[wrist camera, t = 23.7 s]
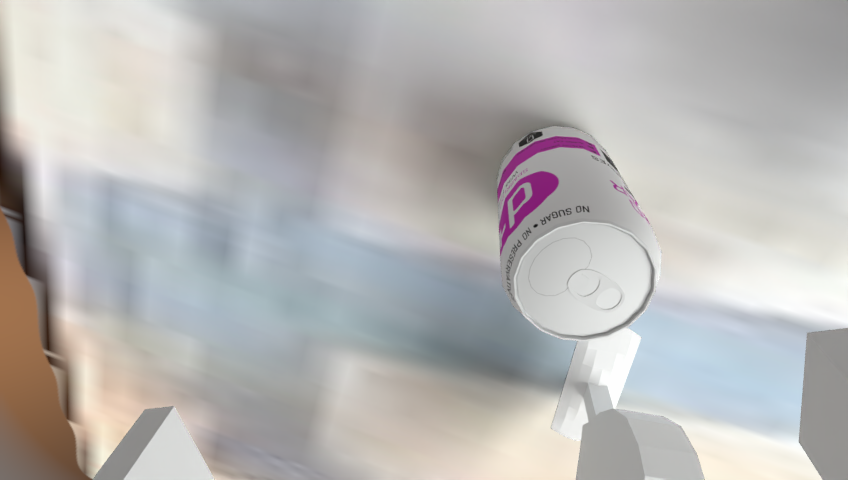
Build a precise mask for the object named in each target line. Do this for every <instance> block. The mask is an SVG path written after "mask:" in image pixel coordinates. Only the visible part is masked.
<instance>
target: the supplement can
mask: <svg viewBox="0 0 848 480" xmlns="http://www.w3.org/2000/svg"><path fill="white" fill-rule="evenodd" d="M497 193H498V216H499V239H500V262H501V274H502V286H503V288H504V290H505V292H506V294H507V296H508V297H509V299H510V301H511V303H512V305H513V307H515V308H516V309H517V310H518V311H519V312H520V313H521V314H523V315H524V317H525V318H526V319H527V320H529V321H530V322H531V323H532V324H533V325H534V326H535V327H537V328H538V329H539V330H540V331H542V332H545V333H547V334H550V335H552V336H554V337H557V338H559V339H564V340H575V341H590V340H595V339H600V338H606V337H609V336H611V335H613V334H615V333H617V332H619V331H621V330H623V329H625V328H627V327H629V326H630V325H631V324H633V323H634V322H635V321H636V320H637V319H638V318H639V317H640V316H641V315H642V314H643V313H644V312H645V311H646V310H647V308H648V306H649V304H650V302H651V300H652V298H653V295H654V293H655V291H656V284H657V282H658V280H659V278H660V273H661V257H662V251H661V249H660V246H659V243H658V241H657V238H656V236H655V233H654V230H653V228H652V227H651V225H650V223H649V222H648V220H647V218H646V217H645V215H644V213H643V212H642V210H641V208H640V207H639V205H638V203H637V202H636V200H635V198H634V197H633V195H632V193H631V192H630V190H629V188H628V187H627V185H626V183H625V182H624V180H623V178H622V177H621V175H620V173H619V172H618V170H617V168H616V167H615V165H614V163H613V162H612V160H611V158H610V157H609V155H608V153H607V152H606V150H605V149H604V148H603V147H602V146H601V145H600V144H599V143H598V142H597V141H596V140H595V139H594V138H593V137H592V136H591V135H589V134H586V133H584V132H582V131H580V130H578V129H575V128H573V127H558V126H551V127H547V128H543V129H540V130H536V131H532V132H530V133H529V134H527V135H526V136H524V137H523V138H521V139H520V140H519V141H517V142H516V143H514V144H513V146H512V147H511V148H510V150H509V151H508V152H507V154H506V155H505V156H504V158H503V159H502V162H501V165H500V169H499V172H498V175H497Z"/></svg>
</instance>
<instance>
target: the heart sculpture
mask: <svg viewBox="0 0 848 480" xmlns="http://www.w3.org/2000/svg"><path fill="white" fill-rule="evenodd" d="M641 338H642V337H640V336H639V335H637V334H636V333H635V332H633V331H632V330H630V329H628V328H625V329H623V330H621V331H619V332H617V333H615V334H613V335H611V336H609V337H606V338H600V339H595V340H590V341H577V345H576V348H575V351H574V354H573V358H572V361H571V364H570V367H569V371H568V374H567V377H566V380H565V384H564V387H563V390H562V393H561V397H560V400H559V403H558V406H557V410H556V413H555V416H554V419H553V423H552V426H551V429H553V430H554V431H556V432H557V433H559V434H561V435H563V436H565V437H567V438H569V439H572V440H575V441H577V440H581V445H580V452H579V460H578V467H577V474H576V480H705V479H704V475H703V472H702V469H701V466H700V462H699V459H698V456H697V453H696V451H695V450H694V448H693V446H692V444H691V443H690V441H689V439H688V437H687V436H686V434H685V432H684V431H683V429H682V427H681V426H680V425H678V424H676V423H674V422H672V421H671V420H669V419H667V418H665V417H664V416H658V415H651V414H645V413H639V412H633V411H627V410H620V409H615V408H616V405H617V402H618V400H619V397H620V394H621V392H622V389H623V386H624V384H625V381H626V378H627V376H628V373H629V370H630V367H631V365H632V362H633V359H634V357H635V354H636V351H637V349H638V346H639V343H640V341H641Z"/></svg>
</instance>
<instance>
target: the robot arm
mask: <svg viewBox="0 0 848 480" xmlns="http://www.w3.org/2000/svg"><path fill="white" fill-rule="evenodd" d="M799 443H800V445H801V446H802V448H803V449H804V451H805V452H806V454H807V456H808V457H809V459H810V460H811V462H812V463H813V465H814V467H815V468H816V470H817V471H818V473H819V474H820V476H821V478H822V479H823V480H848V328H844V329H835V330H827V331H818V332H809V333H807V340H806V353H805V367H804V380H803V393H802V406H801V419H800V432H799ZM92 480H215V479H214V477H213V476H212V474H211V472H210V470H209V468H208V467H207V465H206V463H205V461H204V459H203V457H202V456H201V454H200V452H199V450H198V448H197V447H196V445H195V443H194V441H193V439H192V438H191V436H190V434H189V432H188V430H187V428H186V427H185V425H184V423H183V421H182V419H181V418H180V416H179V414H178V412H177V410H176V408H175V407H174V406H171V407H163V408H154V409H146V410H144V411H143V413H142V414H141V415H140V417H139V418H138V419H137V421H136V422H135V423H134V425H133V426H132V427H131V429H130V430H129V431H128V433H127V434H126V435H125V437H124V438H123V439H122V441H121V442H120V443H119V445H118V446H117V447H116V449H115V450H114V451H113V453H112V454H111V455H110V457H109V458H108V459H107V461H106V462H105V463H104V465H103V466H102V467H101V469H100V470H99V471H98V473H97V474H96V475H95V477H94V478H93V479H92Z"/></svg>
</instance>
